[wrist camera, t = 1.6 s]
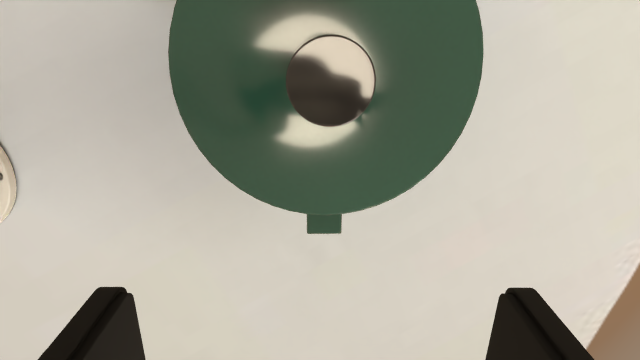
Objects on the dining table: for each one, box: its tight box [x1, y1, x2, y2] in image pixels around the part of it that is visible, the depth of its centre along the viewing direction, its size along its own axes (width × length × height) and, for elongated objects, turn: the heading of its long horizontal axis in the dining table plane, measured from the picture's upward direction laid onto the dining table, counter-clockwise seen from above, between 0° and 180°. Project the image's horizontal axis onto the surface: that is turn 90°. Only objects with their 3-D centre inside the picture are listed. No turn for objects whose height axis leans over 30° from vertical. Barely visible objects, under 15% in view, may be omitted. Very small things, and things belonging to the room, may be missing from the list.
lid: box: [168, 0, 483, 215], centre depth 21 cm, size 18×18×5 cm
